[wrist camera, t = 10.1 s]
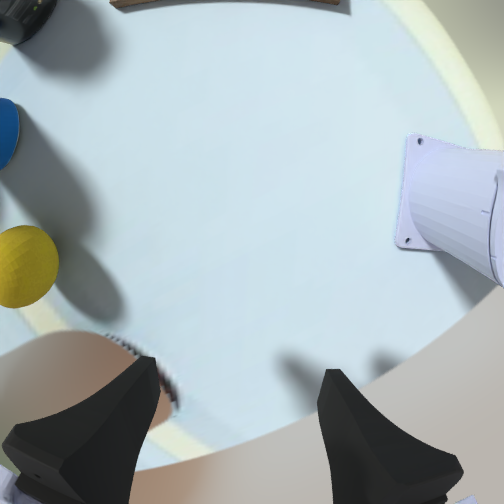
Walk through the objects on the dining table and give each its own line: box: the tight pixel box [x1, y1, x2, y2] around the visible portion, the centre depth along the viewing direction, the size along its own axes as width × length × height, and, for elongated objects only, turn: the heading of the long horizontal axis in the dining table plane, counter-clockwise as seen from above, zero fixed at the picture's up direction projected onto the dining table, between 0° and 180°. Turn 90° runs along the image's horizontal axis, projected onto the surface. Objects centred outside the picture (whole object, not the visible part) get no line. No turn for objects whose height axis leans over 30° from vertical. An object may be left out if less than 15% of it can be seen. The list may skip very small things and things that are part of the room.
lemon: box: [0, 225, 59, 308], centre depth 16 cm, size 6×6×8 cm
